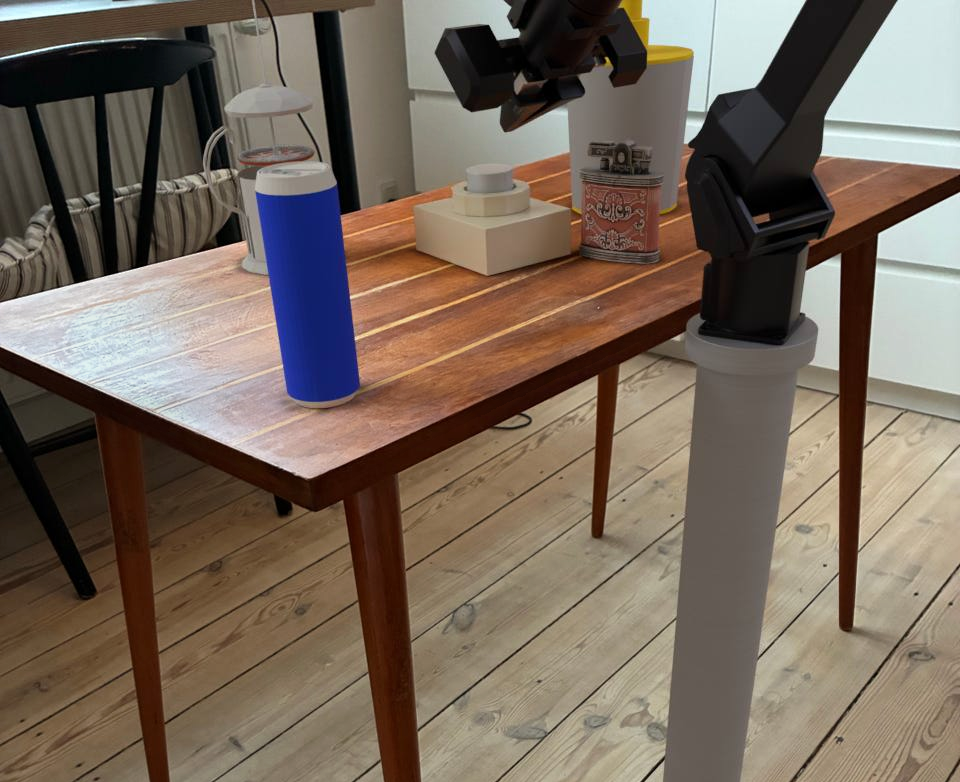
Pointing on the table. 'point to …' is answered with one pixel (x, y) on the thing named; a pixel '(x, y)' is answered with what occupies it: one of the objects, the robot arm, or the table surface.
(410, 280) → the table surface
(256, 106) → the french press
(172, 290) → the table surface
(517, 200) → the push button base
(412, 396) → the table surface
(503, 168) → the grey push button
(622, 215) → the lighter
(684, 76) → the white tapered piece
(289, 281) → the beverage can
